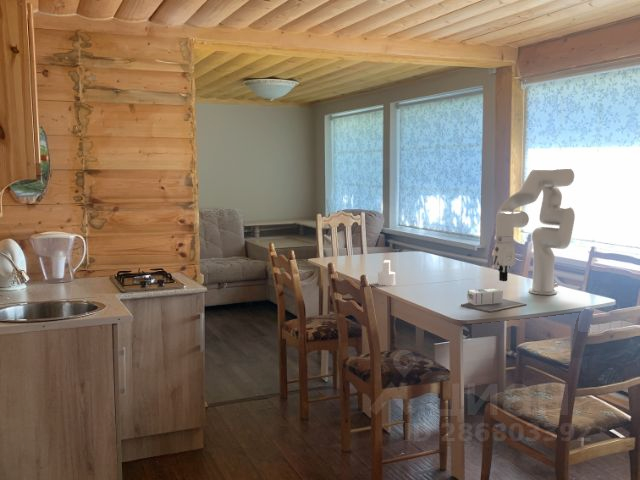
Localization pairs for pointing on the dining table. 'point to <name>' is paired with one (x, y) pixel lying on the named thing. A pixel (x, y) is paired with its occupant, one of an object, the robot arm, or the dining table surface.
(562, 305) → the dining table surface
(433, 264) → the dining table surface
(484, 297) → the syrup box
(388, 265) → the base with upright slab
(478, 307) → the mat
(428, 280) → the dining table surface
